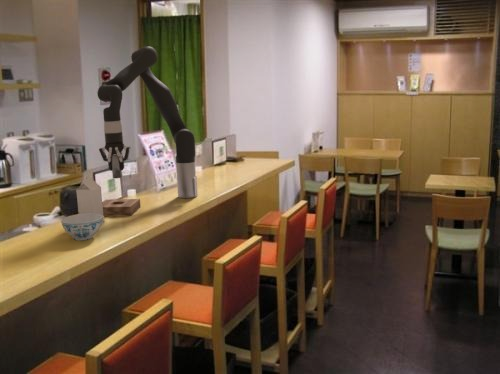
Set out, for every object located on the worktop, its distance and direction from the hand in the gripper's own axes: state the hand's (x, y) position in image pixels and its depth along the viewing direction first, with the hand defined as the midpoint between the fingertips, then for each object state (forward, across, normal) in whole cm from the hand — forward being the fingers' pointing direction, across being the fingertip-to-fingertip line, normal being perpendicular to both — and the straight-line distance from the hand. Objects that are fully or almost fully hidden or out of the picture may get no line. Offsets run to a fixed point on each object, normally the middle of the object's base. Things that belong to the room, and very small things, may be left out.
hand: (116, 170), depth 257 cm
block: (+19, +1, -1) cm, 19 cm away
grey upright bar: (+3, 0, 0) cm, 3 cm away
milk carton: (+19, +7, +20) cm, 29 cm away
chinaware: (+19, +3, +41) cm, 46 cm away
